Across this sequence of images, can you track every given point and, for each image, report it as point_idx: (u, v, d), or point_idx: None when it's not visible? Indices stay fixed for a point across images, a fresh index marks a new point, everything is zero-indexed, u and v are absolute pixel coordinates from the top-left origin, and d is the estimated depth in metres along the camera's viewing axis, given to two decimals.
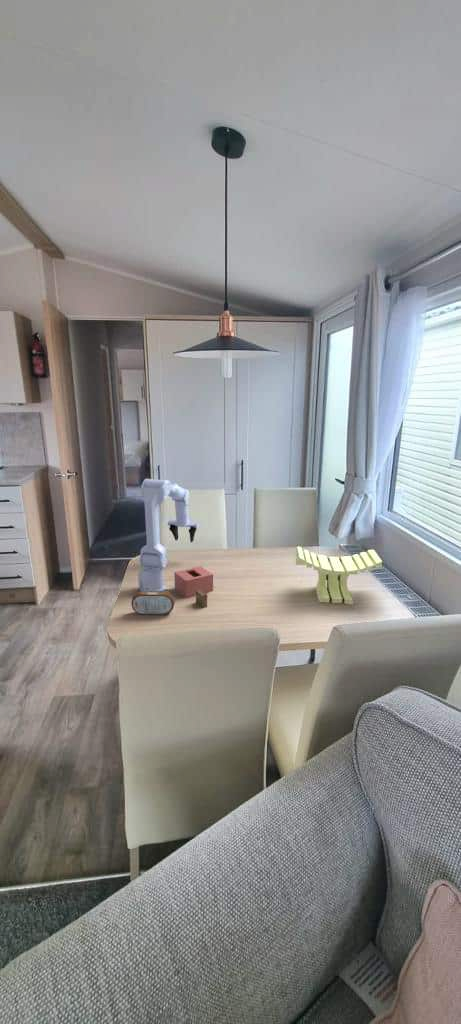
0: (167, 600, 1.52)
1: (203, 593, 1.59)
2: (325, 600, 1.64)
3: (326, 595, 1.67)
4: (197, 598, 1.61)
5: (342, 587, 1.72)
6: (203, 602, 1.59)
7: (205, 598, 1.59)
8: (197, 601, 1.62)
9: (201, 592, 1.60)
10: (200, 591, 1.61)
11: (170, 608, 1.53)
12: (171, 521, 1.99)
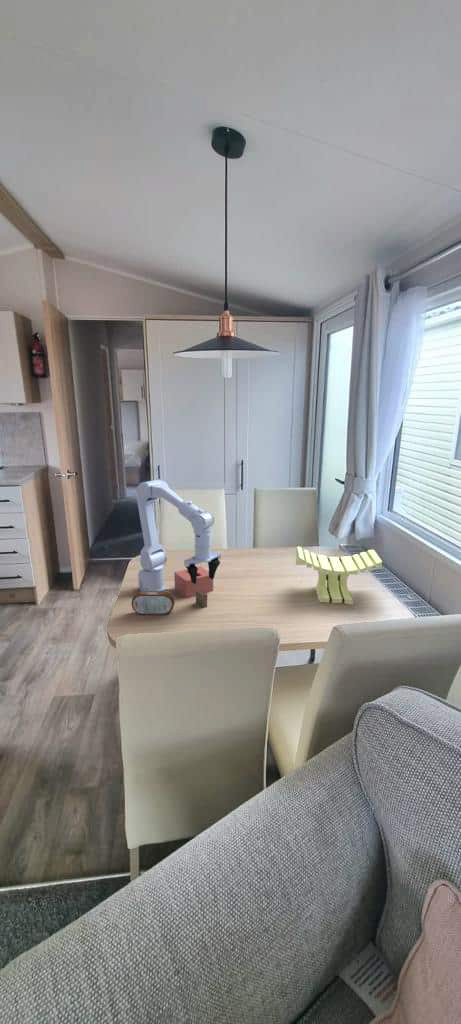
0: (167, 600, 1.52)
1: (203, 593, 1.59)
2: (325, 600, 1.64)
3: (326, 595, 1.67)
4: (197, 598, 1.61)
5: (342, 587, 1.72)
6: (203, 602, 1.59)
7: (205, 598, 1.59)
8: (197, 601, 1.62)
9: (201, 592, 1.60)
10: (200, 591, 1.61)
11: (170, 608, 1.53)
12: (215, 554, 1.61)
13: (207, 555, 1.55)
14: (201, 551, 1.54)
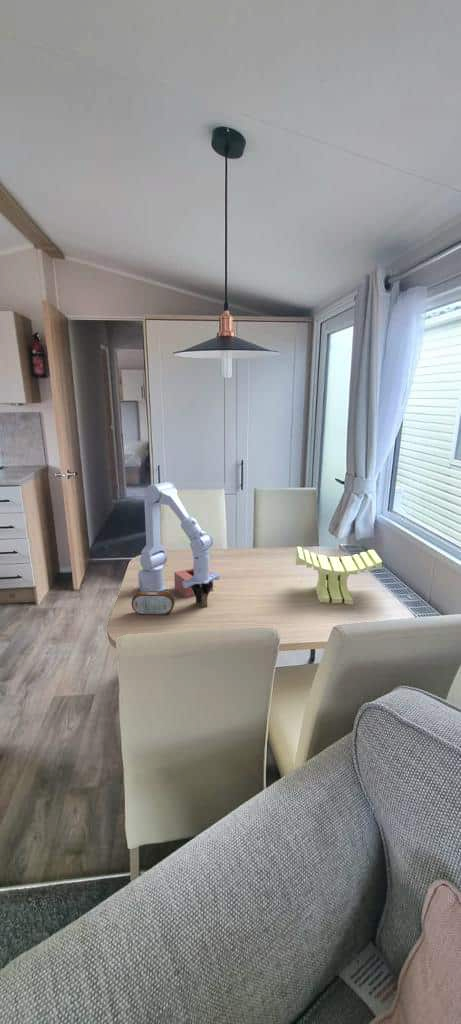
0: (167, 600, 1.52)
1: (203, 593, 1.59)
2: (325, 600, 1.64)
3: (326, 595, 1.67)
4: None
5: (342, 587, 1.72)
6: (204, 601, 1.59)
7: (205, 598, 1.59)
8: None
9: (201, 592, 1.60)
10: None
11: (170, 608, 1.53)
12: (214, 574, 1.62)
13: (206, 576, 1.56)
14: (200, 573, 1.55)
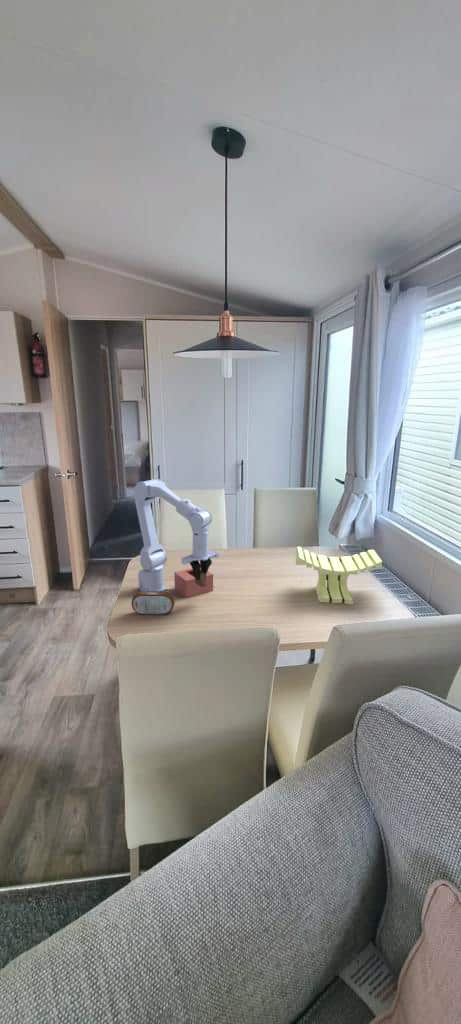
0: (167, 600, 1.52)
1: (202, 572, 1.59)
2: (325, 600, 1.64)
3: (326, 595, 1.67)
4: None
5: (342, 587, 1.72)
6: (202, 581, 1.58)
7: (204, 577, 1.58)
8: (196, 581, 1.61)
9: (200, 571, 1.60)
10: None
11: (170, 608, 1.53)
12: (213, 552, 1.61)
13: (205, 553, 1.56)
14: (199, 549, 1.55)
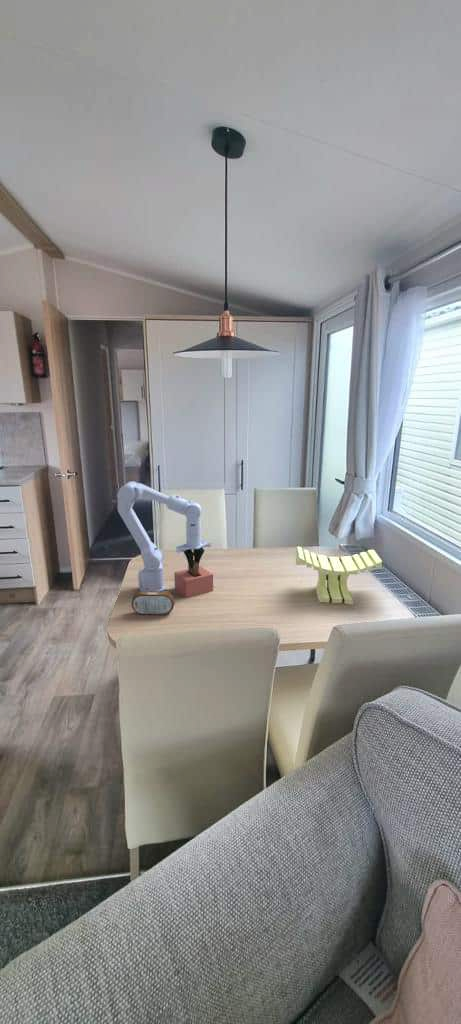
0: (167, 600, 1.52)
1: (195, 562, 1.70)
2: (325, 600, 1.64)
3: (326, 595, 1.67)
4: (189, 567, 1.72)
5: (342, 587, 1.72)
6: (195, 570, 1.70)
7: (197, 567, 1.70)
8: (189, 570, 1.73)
9: (193, 561, 1.71)
10: None
11: (170, 608, 1.53)
12: (205, 542, 1.72)
13: (198, 542, 1.67)
14: (192, 539, 1.66)
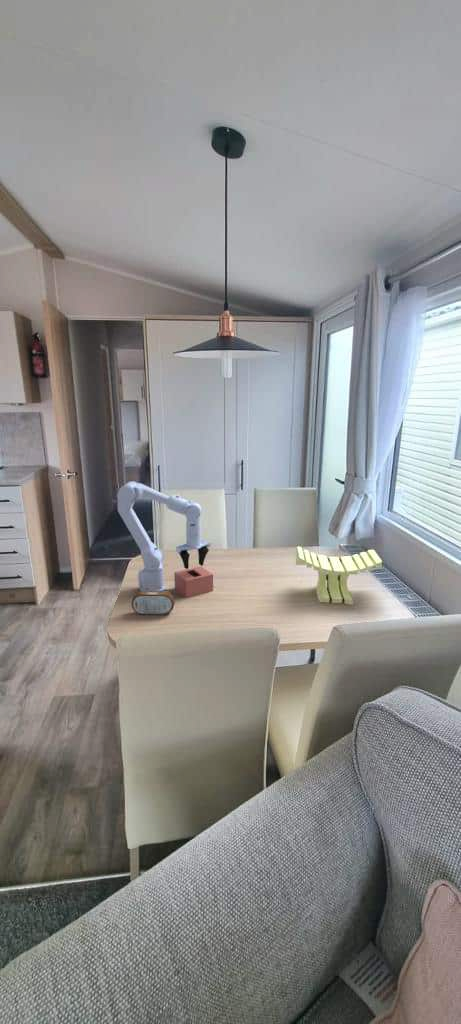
0: (167, 600, 1.52)
1: None
2: (325, 600, 1.64)
3: (326, 595, 1.67)
4: None
5: (342, 587, 1.72)
6: None
7: None
8: None
9: None
10: None
11: (170, 608, 1.53)
12: (205, 542, 1.72)
13: (198, 542, 1.67)
14: (192, 539, 1.66)
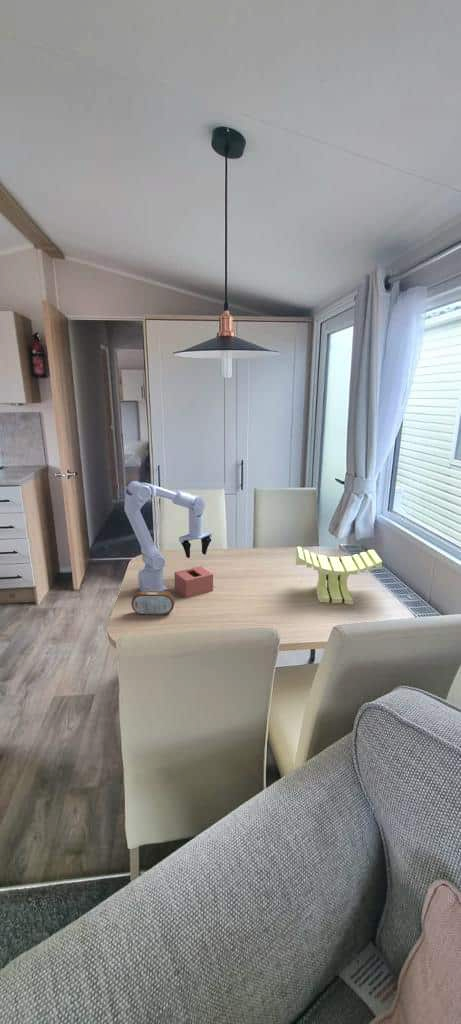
0: (167, 600, 1.52)
1: None
2: (325, 600, 1.64)
3: (326, 595, 1.67)
4: None
5: (342, 587, 1.72)
6: None
7: None
8: None
9: None
10: None
11: (170, 608, 1.53)
12: (207, 532, 1.83)
13: (200, 533, 1.77)
14: (194, 529, 1.76)
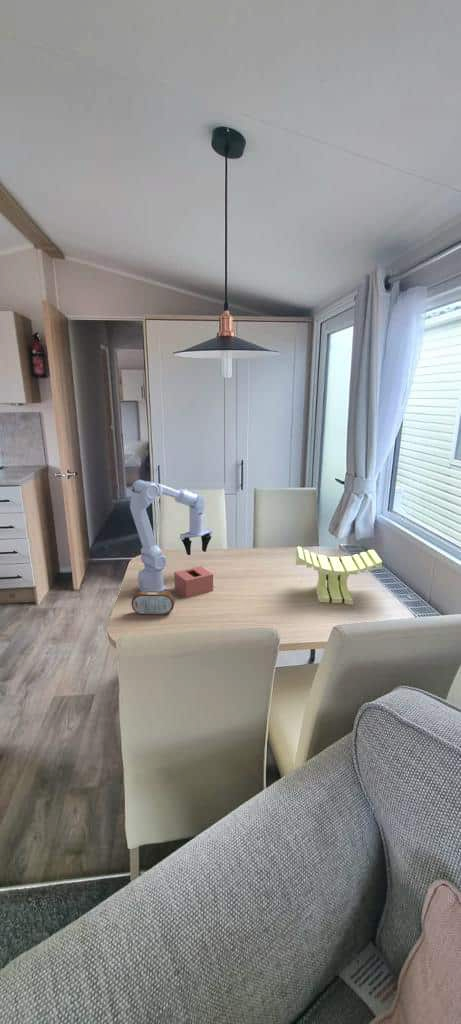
0: (167, 600, 1.52)
1: None
2: (325, 600, 1.64)
3: (326, 595, 1.67)
4: None
5: (342, 587, 1.72)
6: None
7: None
8: None
9: None
10: None
11: (170, 608, 1.53)
12: (207, 530, 1.86)
13: (200, 530, 1.81)
14: (195, 527, 1.80)
